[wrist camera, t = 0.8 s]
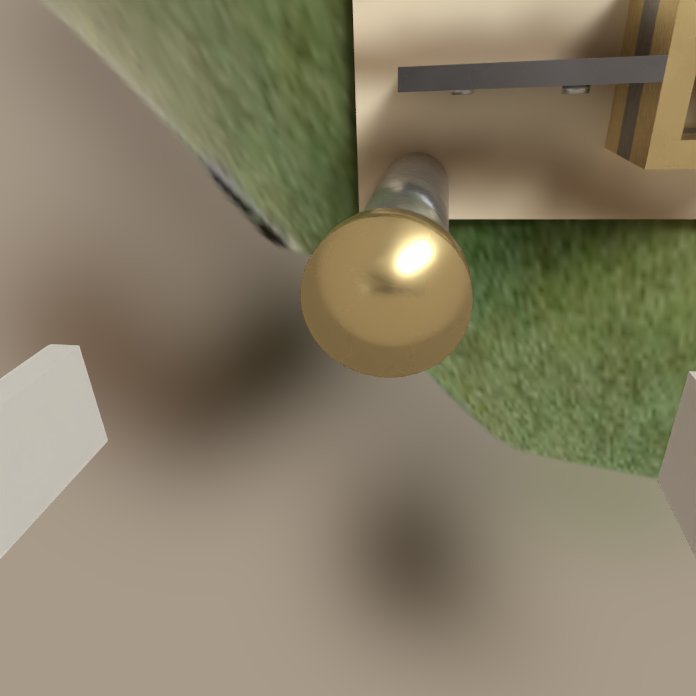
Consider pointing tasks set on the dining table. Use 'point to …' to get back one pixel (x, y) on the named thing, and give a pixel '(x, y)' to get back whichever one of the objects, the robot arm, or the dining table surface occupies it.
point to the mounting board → (505, 111)
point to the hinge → (625, 71)
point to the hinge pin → (391, 277)
